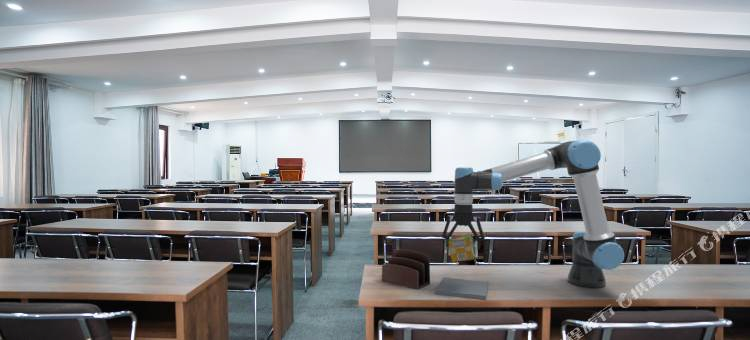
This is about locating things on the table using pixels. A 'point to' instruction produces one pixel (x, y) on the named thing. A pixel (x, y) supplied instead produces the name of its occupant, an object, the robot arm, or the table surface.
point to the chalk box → (461, 248)
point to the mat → (462, 288)
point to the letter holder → (407, 269)
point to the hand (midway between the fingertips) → (463, 255)
